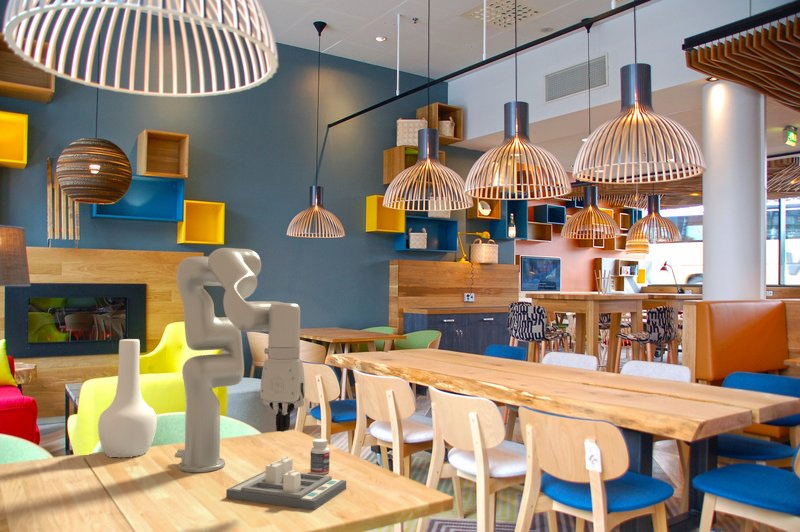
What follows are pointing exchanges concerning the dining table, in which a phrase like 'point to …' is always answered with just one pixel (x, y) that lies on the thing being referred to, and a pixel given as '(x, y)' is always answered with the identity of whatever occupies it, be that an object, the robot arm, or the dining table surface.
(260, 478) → the switch bank
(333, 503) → the dining table surface
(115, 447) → the vase
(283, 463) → the tab
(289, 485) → the tab
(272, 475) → the tab
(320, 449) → the pill bottle
